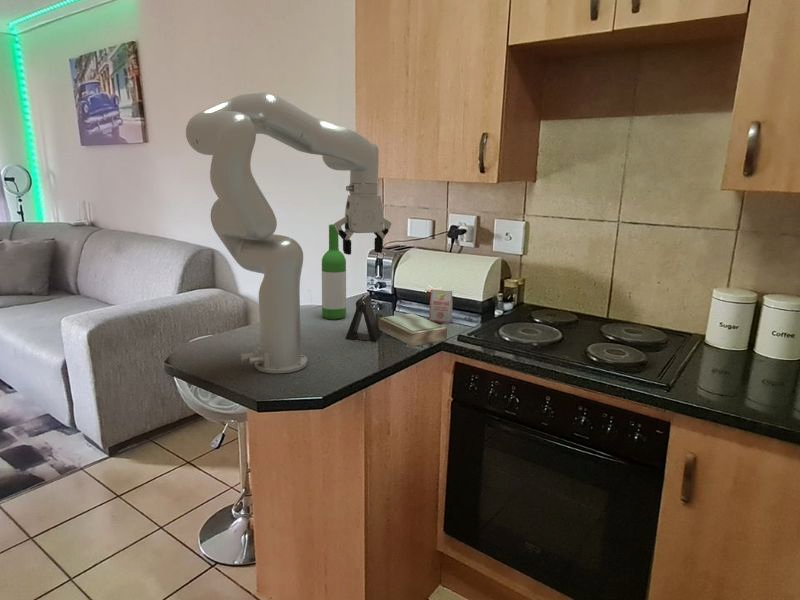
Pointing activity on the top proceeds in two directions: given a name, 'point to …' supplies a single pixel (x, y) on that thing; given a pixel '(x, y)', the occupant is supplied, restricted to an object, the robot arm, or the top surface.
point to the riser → (412, 329)
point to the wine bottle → (333, 279)
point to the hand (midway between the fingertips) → (363, 253)
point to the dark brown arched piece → (369, 319)
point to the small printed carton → (440, 306)
